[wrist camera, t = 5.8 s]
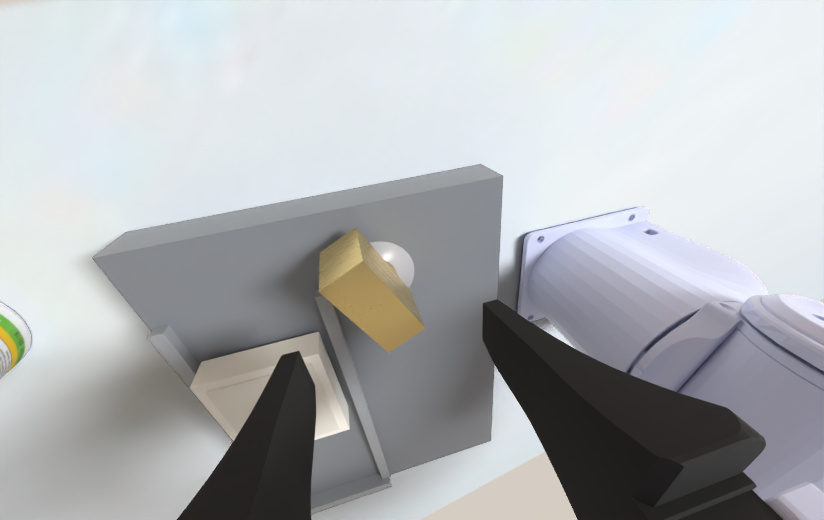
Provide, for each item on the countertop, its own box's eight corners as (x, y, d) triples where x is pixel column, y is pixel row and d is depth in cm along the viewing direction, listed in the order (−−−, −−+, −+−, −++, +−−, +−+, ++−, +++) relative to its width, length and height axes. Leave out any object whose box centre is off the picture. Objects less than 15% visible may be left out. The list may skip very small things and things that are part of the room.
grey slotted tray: (481, 164, 17) (513, 181, 14) (479, 415, 30) (495, 451, 27) (125, 232, 14) (74, 271, 11) (295, 475, 27) (292, 521, 25)
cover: (318, 331, 16) (318, 355, 15) (348, 406, 20) (349, 430, 19) (201, 361, 15) (189, 390, 14) (254, 434, 19) (249, 462, 18)
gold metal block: (406, 281, 16) (425, 328, 13) (376, 301, 16) (388, 352, 13) (354, 220, 14) (362, 260, 11) (319, 245, 14) (318, 291, 11)
